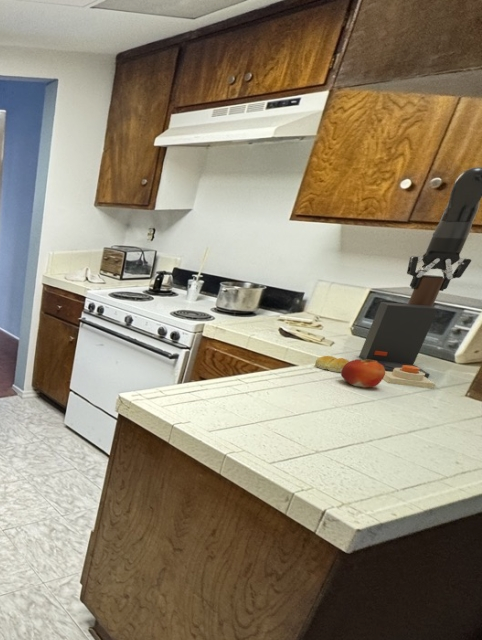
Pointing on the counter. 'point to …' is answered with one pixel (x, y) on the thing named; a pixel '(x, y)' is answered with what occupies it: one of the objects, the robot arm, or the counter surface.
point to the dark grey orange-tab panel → (398, 334)
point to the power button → (410, 369)
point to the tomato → (363, 373)
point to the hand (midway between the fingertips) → (426, 289)
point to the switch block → (408, 378)
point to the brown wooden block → (426, 290)
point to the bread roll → (331, 363)
